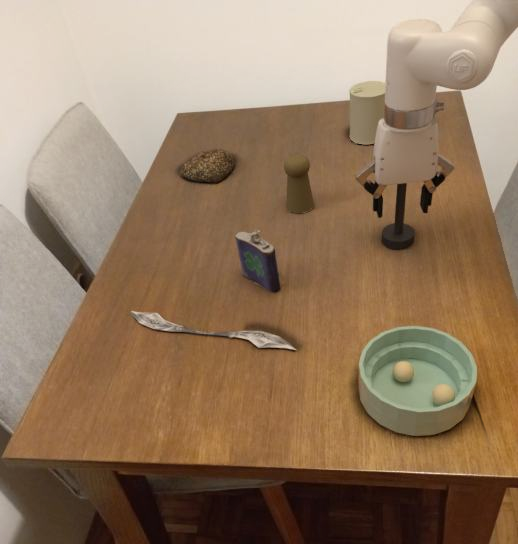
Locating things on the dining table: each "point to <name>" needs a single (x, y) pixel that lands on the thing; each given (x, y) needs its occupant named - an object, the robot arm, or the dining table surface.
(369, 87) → the can
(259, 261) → the flask
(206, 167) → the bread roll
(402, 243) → the peg on round base
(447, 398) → the dough ball
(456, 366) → the bowl
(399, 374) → the dough ball
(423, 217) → the dining table surface
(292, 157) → the olive brown pawn
